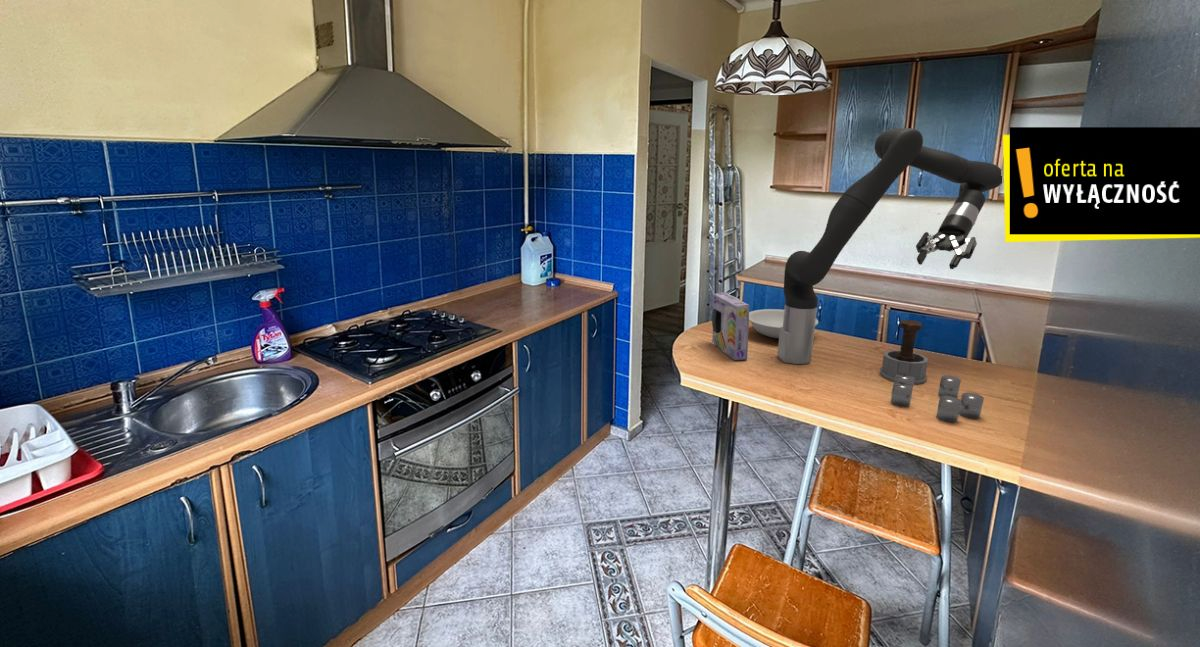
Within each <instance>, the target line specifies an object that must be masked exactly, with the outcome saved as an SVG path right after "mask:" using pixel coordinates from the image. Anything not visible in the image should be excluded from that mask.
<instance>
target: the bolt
mask: <svg viewBox="0 0 1200 647" xmlns="http://www.w3.org/2000/svg"><path fill="white" fill-rule="evenodd" d="M899 323H900V324H899V328H902V329H903V330H902V340H901V345H900V350H901V351H900V353H898V354H897V357H896V359H897V360H900V361H906V362H914V360H915V356H914V355H913V352H914V349H915V347H914V346H915V342H916V337H917V333H918V331H921V329H922V326H923V323H921V322H920V321H917V320H912V319H905V320H904V319H903V320H900V322H899Z"/></svg>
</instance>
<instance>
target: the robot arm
mask: <svg viewBox="0 0 1200 647" xmlns="http://www.w3.org/2000/svg"><path fill="white" fill-rule="evenodd" d="M874 152H875V155H876V157H878V158H879V159H880V160H879V162H878V163H877V164H876V165H875V166H874V167H873V168H872V169H871V170H870V171H869V172H867V173H865V175H863V176H862V177H861V178H859V179H858V180H857V181H856V182H854V183H853V184H851V185H850V186H849V187H847V189H846V190H845V191H844V192H843V194H842V195H841V196H840V197H839V199H838V200H837V201H836V203H835V204H834V205H833V207H832V208H831V210H830V213H829V215H828V218H827V222H826V226H825V230H824V232H823V234H822V236H821V237H820V239H819V241H818V242H817V243H816V245H815V246H814V247H813V248H812V249H811V251H806V250H797V251H795V252H793V253H792V254H790V256H789V257H788V258H787V260H786V262H785V267H784V273H783V274H784V275H783V276H784V277H783V295H784V296H783V297H784V299H785V300H784V309H783V310H784V318H783V327H780V335H779V338H778V345H777V346H778V347H777V357H778V358H779V360H780V361H781V362H783V363H787V364H792V365H806V364H810V363H811V361H812V354H813V346H814V339H815V329H816V326H815V322H816V319H817V312H818V305H819V298H818V296H817V294H816V293H815V291H814V286H816V285H818V284H819V283H820V282H822V281H823V280H824V278H825V277H826V276H827V274H828V273H829V271H830V270H831V268H832V266H833V265H834V263H835V261H836V260H837V258H838V256H839V255H840V253H841V252H842V250H843V249H844V248H845V246H846V245H847V244H848V242H849V241H850V240H851V238H852V236H854V234H855V233H856V231H857V230H858V229H859V227H861V225H862V224H863V222H864V221H865V220H866V219H867V217H868V216H869V215H870V213H871V212H872V211H873V210H874V208H875V206H876V205H877V204H878V203H879V201H880V200H881V199H882V198H883V196H884V195H885V194H886V192H887V191H888V190H889V189H890V187H891V186H892V185H893V184H894V182H895V181H896V180H897V179H898V178H899V177H900V175H901V174H902V173H903V172H904V171H905V170H906V169H907V168H908V167H909V166H910V167H912V168H916V169H919V170H922V171H924V172H927V173H929V174H931V175H934V176H937V177H939V178H941V179H944V180H946V181H949V182H951V183H954V184H959V190H958V196H957V198H956V200H955V202H954V203H953V205H952V207H951V208H949V211H948V212H947V213H946V216H945V218H944V219H943V221H942V223H941V225H940V226H939V228H938V230H937V232H936V233H935V234H930V233H929V231H926V232H924V233H923V235H921V238H920V239H919V240H918V241H917V243H916V245H915V248H916V251H917V253H918V254H917V257H916V260H917V261H916V262H917V263H918V265H920V266H922V265H923V264H924V261H925V260H926V258H927V255H928V254H931V253H934V252H936V251H946V252H949V253H950V252H951V253H952V251H953V252H954V255H953V257H952V258H951V260H950V262H949V270H954V269H956V268H957V267H958V266H959V264H960V262H961V261H962V260H963V259H967V260H970V259H971V258H972V256H973V254H974V251H975V249H976V246H977V245H978V244H977V239H976V237H975V236H972V237H970V238H968V236H969V234H970V233H971V230H972V229H973V227H974V226H975V225H976V222H977V220H978V219H977V218H978V217H979V214H980V212H981V210H982V209H983V206H984V205H985V203H986V197H985V194H984V192H987V191H990V190H993V189H996V188H998V187H1000V186H1001V185H1002V184H1003V182H1002V176H1001V170H1002V168H1001V167H999V166H998V165H996V164H994V163H991V162H986V161H979V160H969V159H967V158H965V157H962V156H960V155H958V154H954V153H952V152H948V151H944V150H940V149H936V148H931V147H928V146H924V137H923V134H922V132H921V131H919V130H918V129H915V128H909V127H904V128H903V127H901V128H891V129H887V130H885V131H883V132H882V133H880V134H879V136H878V137H877V138H876V140H875V143H874ZM965 244H966V247H965V250H964V251H962V250H961V247H962V246H964V245H965ZM934 245H935V246H934Z"/></svg>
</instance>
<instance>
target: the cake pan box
mask: <svg viewBox="0 0 1200 647" xmlns="http://www.w3.org/2000/svg"><path fill="white" fill-rule="evenodd" d="M712 309H713V310H712V315H711V319H712V320H711V324H712V334H711V335H712V340H711V343H712V342H713V343H714V344H715V345H716V346H718V347H719V348H720V349H721V350H720V349H719V348H718V347H717V348H718V349H719V350H720V351H722V352H723V353H724V354H725V355H727V356H728V357H730V358H731V359H732V360H733V361H748V355H749V354H748V350H749V349H748V348H749V326H750V325H749V322H750V321H749V312H750V304H748V303H746V302H744V301H742V300H741V299H740V298H737V297H736V296H733V295H731V294H729V293H728V292H726V291H724V292H717V293H713V300H712ZM714 344H713V345H714ZM715 345H714V346H715ZM716 346H715V347H716Z"/></svg>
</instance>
